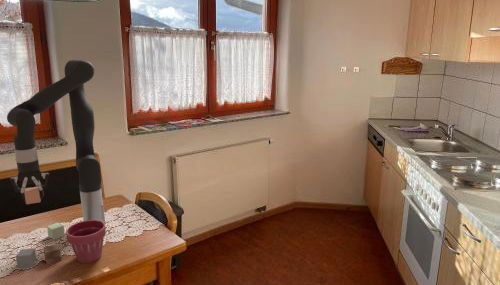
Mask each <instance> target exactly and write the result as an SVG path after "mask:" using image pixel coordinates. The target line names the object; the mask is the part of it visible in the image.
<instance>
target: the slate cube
mask: <svg viewBox="0 0 500 285" xmlns="http://www.w3.org/2000/svg"><path fill="white" fill-rule="evenodd" d="M15 258H16V265H17V268H18V269H22V268H32V267H33V266H34V265H35V263H36V261H37V253H36V248H24V249H20V251H19V252H18V253H17V254H16V256H15Z"/></svg>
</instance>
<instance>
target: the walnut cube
mask: <svg viewBox="0 0 500 285" xmlns="http://www.w3.org/2000/svg"><path fill="white" fill-rule="evenodd" d="M43 254H44V260H45V263H46V265H50V264H54V263H57V262H61V261H62V256H61V248H60V247H59V244H58V243H56V244H52V245H48V246H45V247H43Z"/></svg>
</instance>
